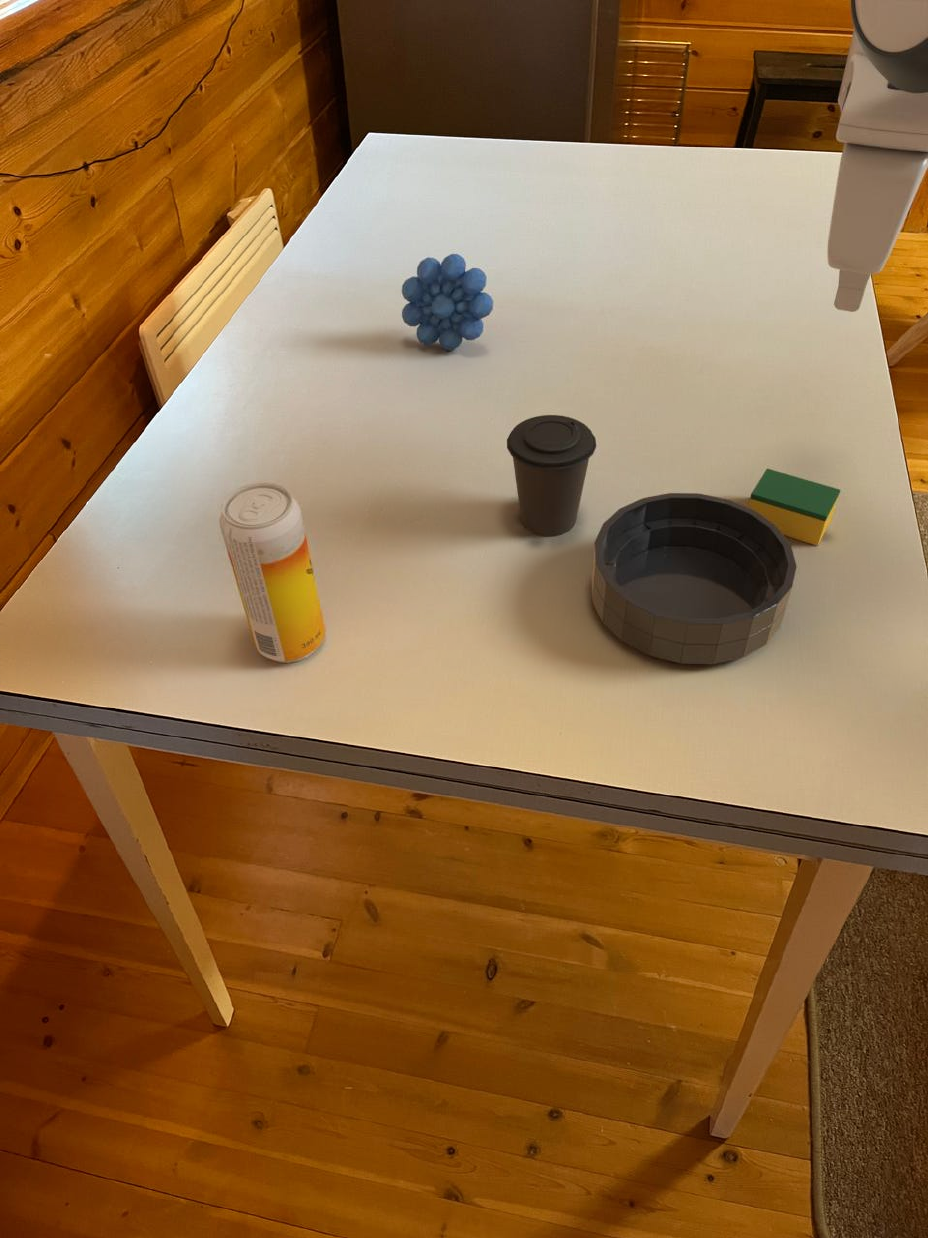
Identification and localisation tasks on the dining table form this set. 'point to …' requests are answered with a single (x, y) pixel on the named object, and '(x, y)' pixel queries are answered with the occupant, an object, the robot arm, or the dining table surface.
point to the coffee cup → (550, 471)
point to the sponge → (795, 505)
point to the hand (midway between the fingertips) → (857, 278)
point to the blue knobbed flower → (446, 301)
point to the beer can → (273, 570)
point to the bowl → (691, 577)
